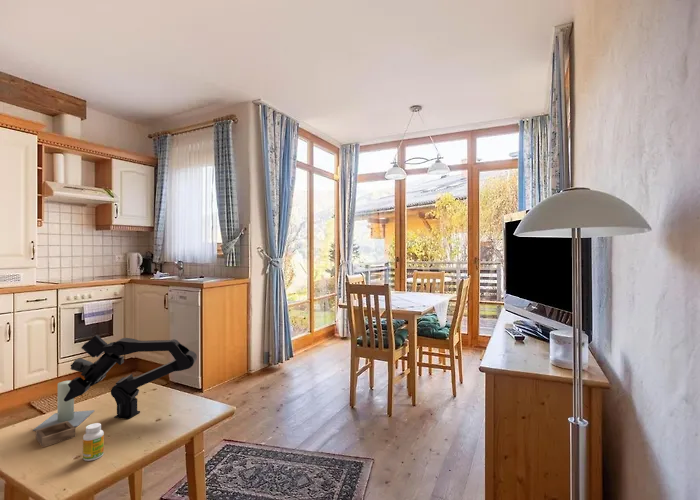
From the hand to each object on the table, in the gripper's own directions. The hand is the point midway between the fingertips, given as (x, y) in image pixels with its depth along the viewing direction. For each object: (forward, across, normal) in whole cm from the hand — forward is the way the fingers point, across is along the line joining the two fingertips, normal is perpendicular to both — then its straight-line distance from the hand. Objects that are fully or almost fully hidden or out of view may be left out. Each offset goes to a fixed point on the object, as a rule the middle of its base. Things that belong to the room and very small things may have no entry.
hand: (71, 396), depth 144 cm
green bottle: (+8, 0, +5) cm, 9 cm away
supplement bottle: (-8, +30, +21) cm, 38 cm away
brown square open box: (+5, +14, +8) cm, 17 cm away
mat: (+8, 0, +5) cm, 9 cm away
